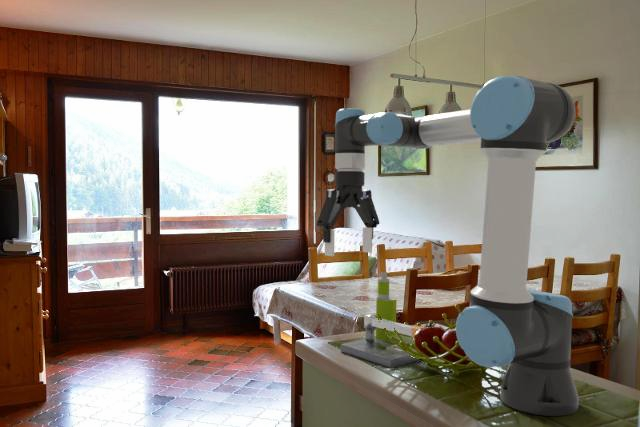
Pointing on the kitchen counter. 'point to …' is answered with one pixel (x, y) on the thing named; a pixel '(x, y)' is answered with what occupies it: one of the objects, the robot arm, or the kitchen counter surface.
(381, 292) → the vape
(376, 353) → the plate
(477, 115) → the robot arm
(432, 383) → the kitchen counter surface
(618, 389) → the kitchen counter surface
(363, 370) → the kitchen counter surface
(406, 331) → the swing arm
